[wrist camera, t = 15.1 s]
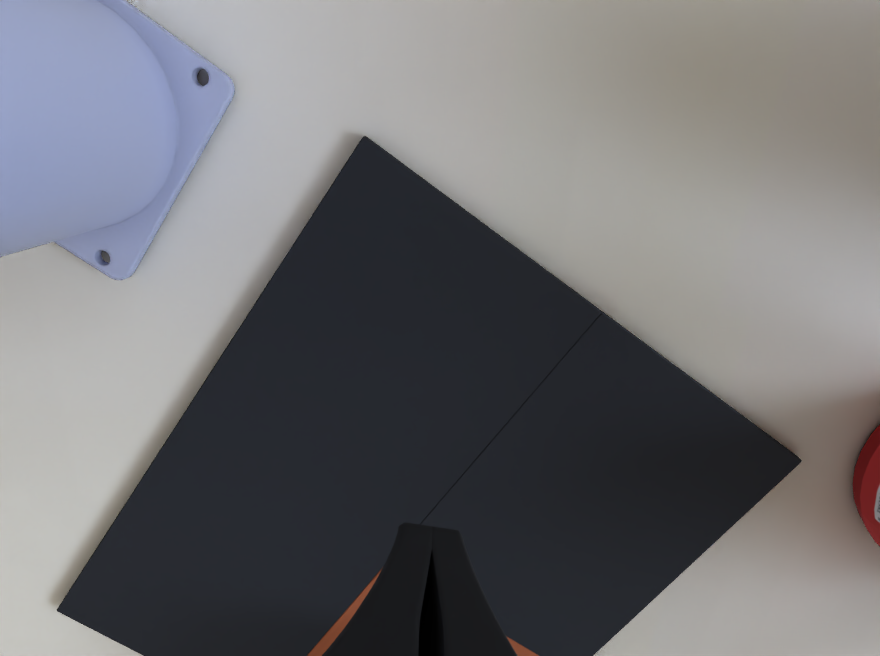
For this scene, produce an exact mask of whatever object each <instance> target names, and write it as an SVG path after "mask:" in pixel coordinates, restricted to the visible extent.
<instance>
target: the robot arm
mask: <svg viewBox="0 0 880 656" xmlns="http://www.w3.org/2000/svg"><path fill="white" fill-rule="evenodd" d="M201 69H205V70H206V71H207V73H208V75H209V81H208V83H207V84H206V85H205V86H201V84H200V83H199V82H198V79H197V74H198V72H199V71H200V70H201ZM234 92H235V90H234V84H233V81H232V79H231V78H230V77H229V76H228V75H227V74H226V73H225V72H223V71H222V70H220V69H219V68H218V67H216V66H215V65H214V64H212V63H211V62H209V61H208V60H207V59H205V58H204V57H203V56H201V55H200V54H198V53H197V52H196V51H194V50H193V49H192V48H190V47H189V46H187V45H186V44H185V43H183V42H182V41H181V40H179V39H178V38H177V37H175V36H174V35H172V34H171V33H170V32H168V31H167V30H166V29H164V28H163V27H161V26H160V25H159V24H157V23H156V22H155V21H153V20H152V19H150V18H149V17H148V16H146V15H145V14H144V13H142V12H141V11H139V10H138V9H137V8H135V7H134V6H133V5H131V4H130V3H128V2H127V1H126V0H0V257H2V256H6V255H9V254H12V253H16V252H19V251H23V250H26V249H30V248H33V247H37V246H40V245H44V244H47V243H50V242H55V243H56V244H58V245H59V246H61V247H63V248H64V249H66V250H67V251H69V252H71V253H72V254H74V255H75V256H77V257H78V258H80V259H82V260H83V261H85V262H86V263H88V264H90V265H91V266H93V267H94V268H96V269H97V270H99V271H101V272H102V273H104V274H105V275H107V276H109V277H110V278H112V279H115V280H123V279H126V278H128V277H130V276H131V275H132V274H133V273H134V272H135V270H136V268H137V267H138V265H139V263H140V261H141V260H142V258H143V256H144V254H145V252H146V251H147V249H148V247H149V245H150V244H151V242H152V240H153V238H154V237H155V235H156V233H157V231H158V229H159V228H160V226H161V224H162V222H163V221H164V219H165V217H166V215H167V214H168V212H169V210H170V208H171V206H172V205H173V203H174V201H175V199H176V198H177V196H178V194H179V192H180V190H181V189H182V187H183V185H184V183H185V182H186V180H187V178H188V176H189V175H190V173H191V171H192V169H193V167H194V166H195V164H196V162H197V160H198V159H199V157H200V155H201V153H202V151H203V150H204V148H205V146H206V144H207V143H208V141H209V139H210V137H211V136H212V134H213V132H214V130H215V128H216V127H217V125H218V123H219V121H220V120H221V118H222V116H223V114H224V112H225V111H226V109H227V107H228V105H229V104H230V102H231V100H232V98H233V95H234ZM102 250H103V251H106V252H107V253H108V254H109V256H110V263H108V262H105V261H104V260H103V259H102V256H101V253H102ZM322 656H518V655H517V654H516V652H515V651H514V649H513V647H512V645H511V644H510V642H509V640H508V639H507V637H506V635H505V633H504V631H503V629H502V628H501V626H500V624H499V622H498V620H497V618H496V616H495V614H494V612H493V611H492V609H491V606H490V604H489V602H488V600H487V598H486V596H485V594H484V592H483V589H482V587H481V585H480V583H479V580H478V578H477V576H476V573H475V571H474V568H473V566H472V563H471V561H470V558H469V555H468V552H467V550H466V546H465V543H464V540H463V536H462V534H461V533H460V532H459V530H453V529H446V528H440V527H433V526H426V525H419V524H413V523H406V522H404V523H403V524H401V525H399V528H398V533H397V536H396V540H395V542H394V545H393V547H392V550H391V552H390V554H389V556H388V558H387V561H386V563H385V565H384V566H383V568H382V570H381V572H380V574H379V575H378V577H377V579H376V581H375V583H374V584H373V586H372V588H371V589H370V591H369V593H368V594H367V596H366V597H365V599H364V600H363V602H362V603H361V605H360V606H359V608H358V609H357V611H356V612H355V614H354V615H353V617H352V618H351V619H350V621H349V622H348V624H347V625H346V626H345V628H344V629H343V630H342V632H341V633H340V634H339V635H338V637H337V638H336V639H335V640H334V642H333V643H332V644H331V645H330V647H329V648H328V649H327V650H326V651H325V652H324V654H323V655H322Z"/></svg>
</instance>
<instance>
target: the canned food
mask: <svg viewBox="0 0 880 656" xmlns="http://www.w3.org/2000/svg"><path fill="white" fill-rule="evenodd" d="M853 495H854V501H855V504H856V507H857V510H858V513H859V515H860V517H861V519H862V521H863V523H864V525H865V527H866V529H867V530H868V532H869V533H870V535H871V536H872V538H873V539H874V541H875V542H876V543H877V544H878V545H879V546H880V424H879V426H878V427H877V428H876V429H875V430H874V431H873V433H872V434H871V435H870V437H869V438H868V440H867V442H866V443H865V445H864V447H863V448H862V450H861V452H860V455H859V458H858V460H857V463H856V466H855V470H854V477H853Z"/></svg>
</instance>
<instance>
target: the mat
mask: <svg viewBox="0 0 880 656" xmlns="http://www.w3.org/2000/svg"><path fill="white" fill-rule="evenodd" d="M800 463H801V459H800V458H799V457H798V456H796V455H795V454H794V453H792V452H791V451H790V450H788V449H787V448H786V447H784V446H783V445H782V444H780V443H779V442H778V441H776V440H775V439H773V438H772V437H771V436H769V435H768V434H767V433H765V432H764V431H763V430H761V429H760V428H759V427H757V426H756V425H755V424H753V423H752V422H751V421H749V420H748V419H747V418H745V417H744V416H742V415H741V414H740V413H738V412H737V411H736V410H734V409H733V408H732V407H730V406H729V405H728V404H726V403H725V402H724V401H722V400H721V399H720V398H718V397H717V396H716V395H714V394H713V393H711V392H710V391H709V390H707V389H706V388H705V387H703V386H702V385H701V384H699V383H698V382H697V381H695V380H694V379H693V378H691V377H690V376H689V375H687V374H686V373H685V372H683V371H682V370H680V369H679V368H678V367H676V366H675V365H674V364H672V363H671V362H670V361H668V360H667V359H666V358H664V357H663V356H662V355H660V354H659V353H658V352H656V351H655V350H653V349H652V348H651V347H649V346H648V345H647V344H645V343H644V342H643V341H641V340H640V339H639V338H637V337H636V336H635V335H633V334H632V333H631V332H629V331H628V330H627V329H625V328H624V327H622V326H621V325H620V324H618V323H617V322H616V321H614V320H613V319H612V318H610V317H609V316H608V315H606V314H605V313H604V312H602V311H601V310H599V309H598V308H597V307H596V306H594V305H593V304H591V303H590V302H589V301H587V300H586V299H585V298H583V297H582V296H581V295H579V294H578V293H577V292H575V291H574V290H573V289H571V288H570V287H569V286H567V285H566V284H565V283H563V282H562V281H560V280H559V279H558V278H556V277H555V276H554V275H552V274H551V273H550V272H548V271H547V270H546V269H544V268H543V267H542V266H540V265H539V264H538V263H536V262H535V261H534V260H532V259H531V258H529V257H528V256H527V255H525V254H524V253H523V252H521V251H520V250H519V249H517V248H516V247H515V246H513V245H512V244H511V243H509V242H508V241H507V240H505V239H504V238H503V237H501V236H500V235H498V234H497V233H496V232H494V231H493V230H492V229H490V228H489V227H488V226H486V225H485V224H484V223H482V222H481V221H480V220H478V219H477V218H476V217H474V216H473V215H471V214H470V213H469V212H467V211H466V210H465V209H463V208H462V207H461V206H459V205H458V204H457V203H455V202H454V201H453V200H451V199H450V198H449V197H447V196H446V195H445V194H443V193H442V192H440V191H439V190H438V189H436V188H435V187H434V186H432V185H431V184H430V183H428V182H427V181H426V180H424V179H423V178H422V177H420V176H419V175H418V174H416V173H415V172H414V171H412V170H411V169H409V168H408V167H407V166H405V165H404V164H403V163H401V162H400V161H399V160H397V159H396V158H395V157H393V156H392V155H391V154H389V153H388V152H387V151H385V150H384V149H383V148H381V147H380V146H378V145H377V144H376V143H374V142H373V141H372V140H370V139H369V138H368V137H366V136H364V137H363V138H362V139H361V141H360V142H359V144H358V145H357V147H356V148H355V150H354V151H353V153H352V155H351V156H350V158H349V159H348V161H347V162H346V164H345V165H344V167H343V168H342V170H341V172H340V173H339V175H338V176H337V178H336V179H335V181H334V182H333V184H332V185H331V187H330V189H329V190H328V192H327V193H326V195H325V196H324V198H323V199H322V201H321V202H320V204H319V206H318V207H317V209H316V210H315V212H314V213H313V215H312V216H311V218H310V219H309V221H308V223H307V224H306V226H305V227H304V229H303V230H302V232H301V233H300V235H299V236H298V238H297V240H296V241H295V243H294V244H293V246H292V247H291V249H290V250H289V252H288V253H287V255H286V257H285V258H284V260H283V261H282V263H281V264H280V266H279V267H278V269H277V270H276V272H275V274H274V275H273V277H272V278H271V280H270V281H269V283H268V284H267V286H266V287H265V289H264V291H263V292H262V294H261V295H260V297H259V298H258V300H257V301H256V303H255V304H254V306H253V308H252V309H251V311H250V312H249V314H248V315H247V317H246V318H245V320H244V321H243V323H242V325H241V326H240V328H239V329H238V331H237V332H236V334H235V335H234V337H233V338H232V340H231V342H230V343H229V345H228V346H227V348H226V349H225V351H224V352H223V354H222V355H221V357H220V359H219V360H218V362H217V363H216V365H215V366H214V368H213V369H212V371H211V372H210V374H209V376H208V377H207V379H206V380H205V382H204V383H203V385H202V386H201V388H200V389H199V391H198V393H197V394H196V396H195V397H194V399H193V400H192V402H191V403H190V405H189V406H188V408H187V410H186V411H185V413H184V414H183V416H182V417H181V419H180V420H179V422H178V423H177V425H176V427H175V428H174V430H173V431H172V433H171V434H170V436H169V437H168V439H167V440H166V442H165V444H164V445H163V447H162V448H161V450H160V451H159V453H158V454H157V456H156V457H155V459H154V461H153V462H152V464H151V465H150V467H149V468H148V470H147V471H146V473H145V474H144V476H143V478H142V479H141V481H140V482H139V484H138V485H137V487H136V488H135V490H134V491H133V493H132V495H131V496H130V498H129V499H128V501H127V502H126V504H125V505H124V507H123V508H122V510H121V512H120V513H119V515H118V516H117V518H116V519H115V521H114V522H113V524H112V525H111V527H110V529H109V530H108V532H107V533H106V535H105V536H104V538H103V539H102V541H101V542H100V544H99V546H98V547H97V549H96V550H95V552H94V553H93V555H92V556H91V558H90V559H89V561H88V563H87V564H86V566H85V567H84V569H83V570H82V572H81V573H80V575H79V576H78V578H77V580H76V581H75V583H74V584H73V586H72V587H71V589H70V590H69V592H68V593H67V595H66V597H65V598H64V600H63V601H62V603H61V604H60V606H59V607H58V609H57V611H58V612H60V613H62V614H64V615H66V616H68V617H70V618H72V619H73V620H75V621H77V622H79V623H81V624H83V625H85V626H87V627H89V628H91V629H93V630H95V631H97V632H99V633H101V634H103V635H105V636H107V637H109V638H111V639H112V640H114V641H116V642H118V643H120V644H122V645H124V646H126V647H128V648H130V649H132V650H134V651H136V652H138V653H140V654H142V655H144V656H322V655H323V654H324V652H325V651H326V650H327V649H328V648H329V647H330V645H331V644H332V643H333V642H334V640H335V639H336V638H337V637H338V635H339V634H340V633H341V632H342V630H343V629H344V628H345V626H346V625H347V624H348V622H349V621H350V619H351V618H352V617H353V615H354V614H355V612H356V611H357V609H358V608H359V606H360V605H361V603H362V602H363V600H364V599H365V597H366V596H367V594H368V593H369V591H370V589H371V588H372V586H373V584H374V583H375V581H376V579H377V577H378V575H379V574H380V572H381V570H382V568H383V566H384V565H385V563H386V561H387V558H388V556H389V554H390V552H391V550H392V547H393V545H394V542H395V540H396V536H397V533H398V528H399V525H401V524H403V523H404V522H406V523H413V524H419V525H426V526H433V527H440V528H446V529H453V530H459V532H460V533H461V534H462V536H463V540H464V543H465V546H466V550H467V552H468V555H469V558H470V561H471V563H472V566H473V568H474V571H475V573H476V576H477V578H478V580H479V583H480V585H481V587H482V589H483V592H484V594H485V596H486V598H487V600H488V602H489V604H490V606H491V609H492V611H493V612H494V614H495V616H496V618H497V620H498V622H499V624H500V626H501V628H502V629H503V631H504V633H505V635H506V637H507V639H508V640H509V642H510V644H511V645H512V647H513V649H514V651H515V652H516V654H517V655H518V656H593V655H594V654H595V653H596V652H597V651H598V650H600V649H601V648H602V647H603V646H604V645H605V644H606V643H607V642H608V641H609V640H610V639H611V638H612V637H614V636H615V635H616V634H617V633H618V632H619V631H620V630H621V629H622V628H623V627H624V626H625V625H626V624H628V623H629V622H630V621H631V620H632V619H633V618H634V617H635V616H636V615H637V614H638V613H639V612H640V611H641V610H643V609H644V608H645V607H646V606H647V605H648V604H649V603H650V602H651V601H652V600H653V599H654V598H655V597H657V596H658V595H659V594H660V593H661V592H662V591H663V590H664V589H665V588H666V587H667V586H668V585H669V584H671V583H672V582H673V581H674V580H675V579H676V578H677V577H678V576H679V575H680V574H681V573H682V572H683V571H684V570H686V569H687V568H688V567H689V566H690V565H691V564H692V563H693V562H694V561H695V560H696V559H697V558H698V557H700V556H701V555H702V554H703V553H704V552H705V551H706V550H707V549H708V548H709V547H710V546H711V545H712V544H714V543H715V542H716V541H717V540H718V539H719V538H720V537H721V536H722V535H723V534H724V533H725V532H726V531H727V530H729V529H730V528H731V527H732V526H733V525H734V524H735V523H736V522H737V521H738V520H739V519H740V518H741V517H743V516H744V515H745V514H746V513H747V512H748V511H749V510H750V509H751V508H752V507H753V506H754V505H755V504H757V503H758V502H759V501H760V500H761V499H762V498H763V497H764V496H765V495H766V494H767V493H768V492H769V491H770V490H772V489H773V488H774V487H775V486H776V485H777V484H778V483H779V482H780V481H781V480H782V479H783V478H784V477H786V476H787V475H788V474H789V473H790V472H791V471H792V470H793V469H794V468H795V467H796V466H797V465H798V464H800Z"/></svg>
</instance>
